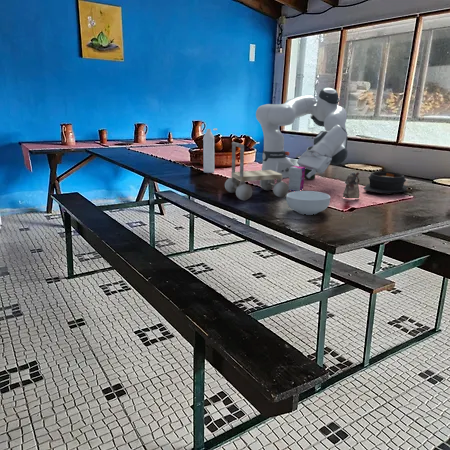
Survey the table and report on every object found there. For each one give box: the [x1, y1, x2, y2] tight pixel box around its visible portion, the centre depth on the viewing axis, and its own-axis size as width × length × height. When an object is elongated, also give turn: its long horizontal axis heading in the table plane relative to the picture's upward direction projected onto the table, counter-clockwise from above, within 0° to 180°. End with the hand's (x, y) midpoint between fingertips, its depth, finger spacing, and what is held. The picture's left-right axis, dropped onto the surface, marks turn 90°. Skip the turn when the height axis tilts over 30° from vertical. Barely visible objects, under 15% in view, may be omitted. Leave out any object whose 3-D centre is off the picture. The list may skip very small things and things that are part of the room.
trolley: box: [224, 141, 290, 201], centre depth 185 cm, size 25×16×24 cm, turn 110°
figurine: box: [342, 171, 360, 199], centre depth 181 cm, size 7×7×12 cm
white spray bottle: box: [202, 128, 218, 174], centre depth 238 cm, size 9×6×25 cm
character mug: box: [304, 168, 316, 180], centre depth 221 cm, size 11×7×13 cm, turn 122°
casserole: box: [363, 171, 408, 194], centre depth 196 cm, size 25×19×8 cm
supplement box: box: [288, 165, 306, 192], centre depth 195 cm, size 6×6×12 cm
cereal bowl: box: [285, 190, 331, 216], centre depth 160 cm, size 17×17×7 cm
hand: (301, 175), depth 195 cm, fingers open, 8 cm apart
